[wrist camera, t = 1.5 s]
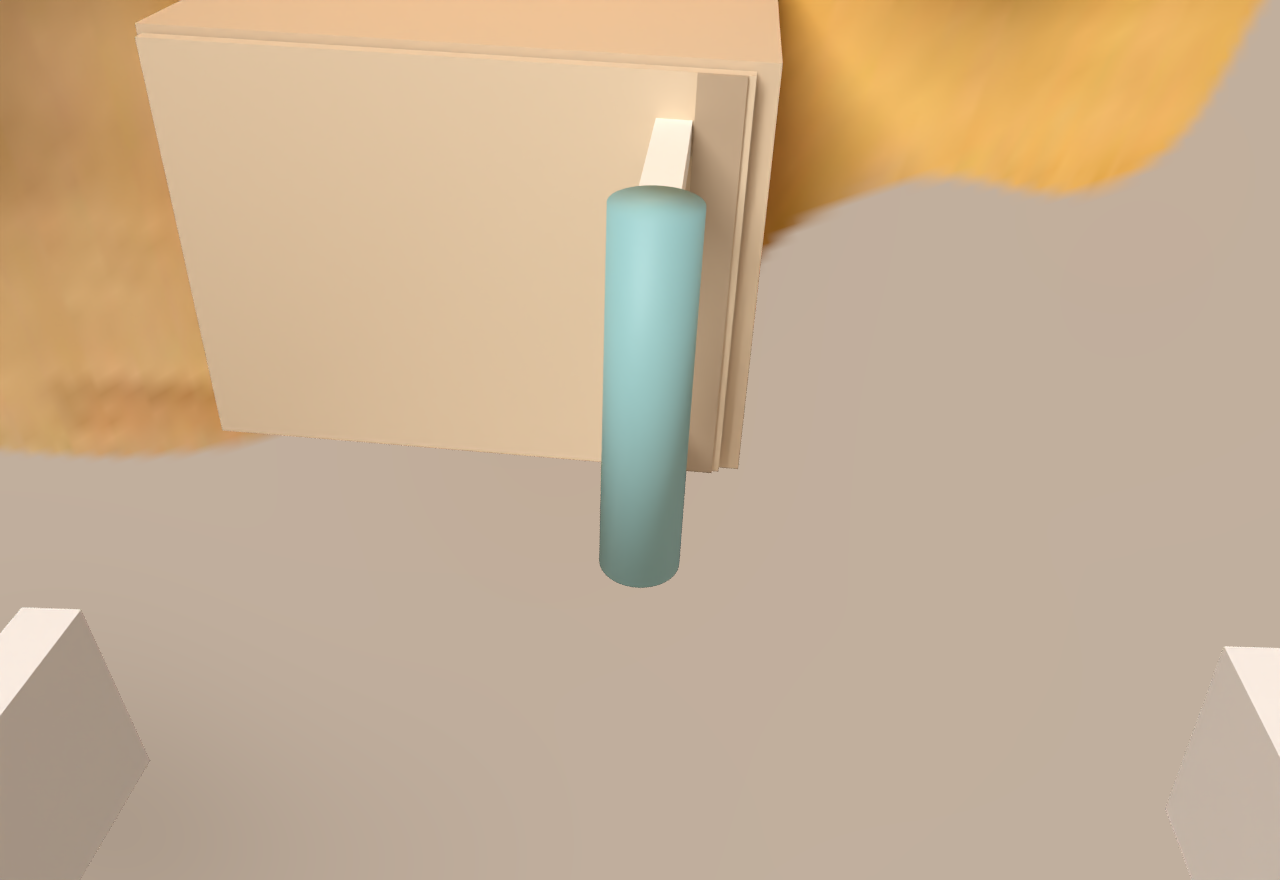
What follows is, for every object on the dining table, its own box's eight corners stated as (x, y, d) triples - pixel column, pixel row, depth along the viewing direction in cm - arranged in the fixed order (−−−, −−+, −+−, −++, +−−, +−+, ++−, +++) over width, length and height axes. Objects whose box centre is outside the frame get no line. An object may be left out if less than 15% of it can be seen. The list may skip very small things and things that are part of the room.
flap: (227, 423, 33) (115, 573, 27) (142, 33, 26) (-30, 121, 21) (718, 463, 32) (710, 627, 26) (757, 71, 25) (756, 174, 20)
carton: (354, 252, 44) (224, 426, 33) (314, -66, 37) (134, 23, 26) (742, 281, 43) (737, 469, 32) (774, -39, 36) (782, 63, 25)
